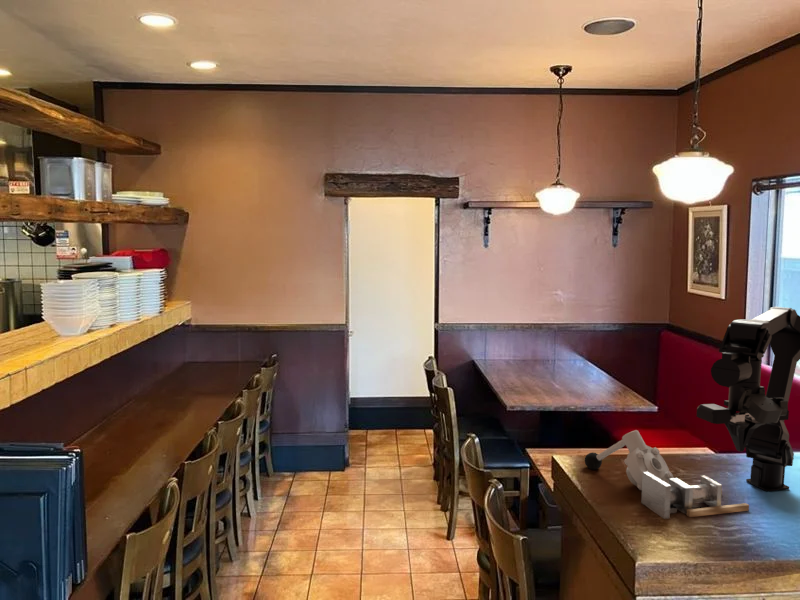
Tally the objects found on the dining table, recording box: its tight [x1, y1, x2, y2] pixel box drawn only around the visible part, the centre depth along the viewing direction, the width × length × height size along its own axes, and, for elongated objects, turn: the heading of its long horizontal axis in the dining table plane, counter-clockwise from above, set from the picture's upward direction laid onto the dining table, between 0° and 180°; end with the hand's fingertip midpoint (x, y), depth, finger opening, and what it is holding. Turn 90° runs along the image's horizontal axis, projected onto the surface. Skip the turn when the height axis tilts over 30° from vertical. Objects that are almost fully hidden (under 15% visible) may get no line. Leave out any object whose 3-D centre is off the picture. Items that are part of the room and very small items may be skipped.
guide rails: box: [686, 493, 750, 518], centre depth 141 cm, size 14×9×1 cm, turn 103°
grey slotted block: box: [673, 474, 723, 509], centre depth 140 cm, size 8×6×6 cm
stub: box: [640, 472, 690, 520], centre depth 138 cm, size 7×8×7 cm
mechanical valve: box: [584, 429, 674, 491], centre depth 155 cm, size 10×18×15 cm
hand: (739, 451), depth 139 cm, fingers closed
